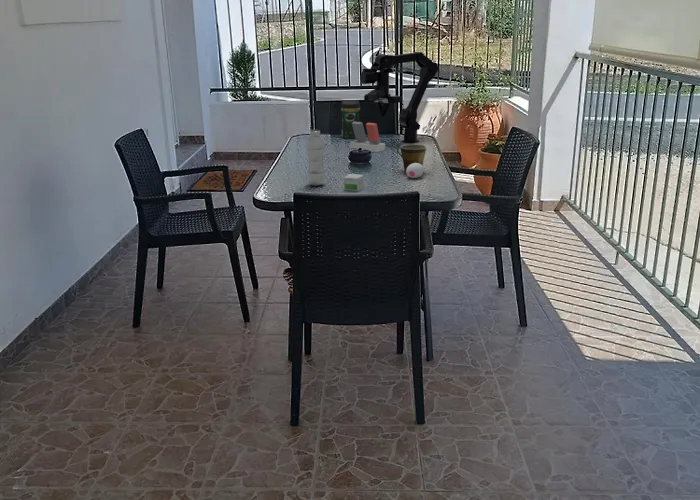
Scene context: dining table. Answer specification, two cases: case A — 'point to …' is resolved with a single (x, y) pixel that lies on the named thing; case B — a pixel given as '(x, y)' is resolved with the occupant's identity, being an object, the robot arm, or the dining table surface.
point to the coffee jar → (349, 117)
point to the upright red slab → (373, 133)
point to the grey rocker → (359, 131)
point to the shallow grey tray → (368, 146)
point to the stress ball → (414, 170)
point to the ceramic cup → (412, 154)
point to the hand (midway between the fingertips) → (382, 117)
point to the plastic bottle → (315, 159)
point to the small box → (353, 182)
